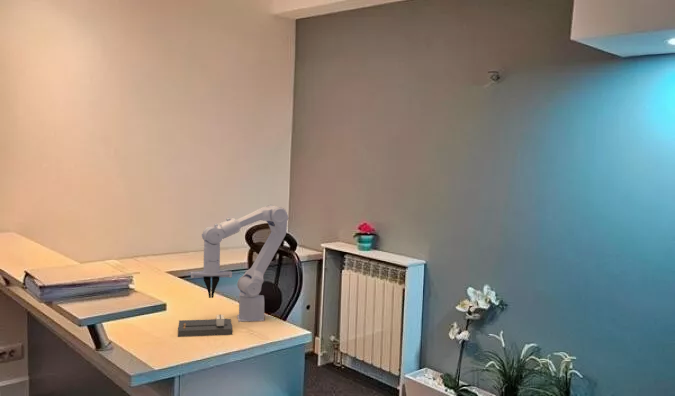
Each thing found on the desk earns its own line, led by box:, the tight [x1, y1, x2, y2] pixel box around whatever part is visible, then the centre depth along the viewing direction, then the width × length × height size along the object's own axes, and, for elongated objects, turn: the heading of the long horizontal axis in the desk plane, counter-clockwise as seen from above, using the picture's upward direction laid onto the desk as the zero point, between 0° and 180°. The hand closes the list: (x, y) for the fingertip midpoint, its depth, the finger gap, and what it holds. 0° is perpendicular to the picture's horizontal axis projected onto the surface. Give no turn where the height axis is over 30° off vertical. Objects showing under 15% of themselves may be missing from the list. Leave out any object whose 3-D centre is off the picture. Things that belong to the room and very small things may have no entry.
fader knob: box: [215, 314, 225, 326], centre depth 205 cm, size 2×5×3 cm, turn 13°
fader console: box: [177, 318, 233, 338], centre depth 205 cm, size 18×12×2 cm, turn 103°
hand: (211, 297), depth 214 cm, fingers closed
